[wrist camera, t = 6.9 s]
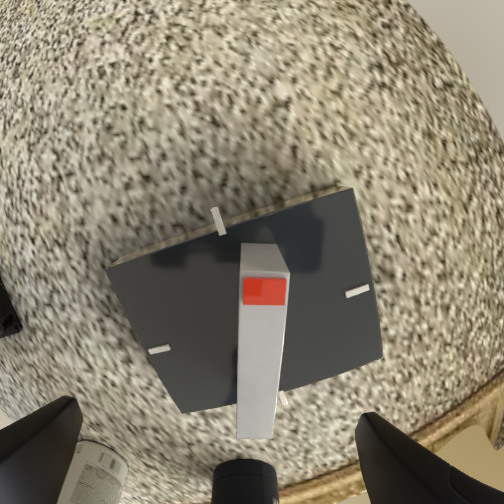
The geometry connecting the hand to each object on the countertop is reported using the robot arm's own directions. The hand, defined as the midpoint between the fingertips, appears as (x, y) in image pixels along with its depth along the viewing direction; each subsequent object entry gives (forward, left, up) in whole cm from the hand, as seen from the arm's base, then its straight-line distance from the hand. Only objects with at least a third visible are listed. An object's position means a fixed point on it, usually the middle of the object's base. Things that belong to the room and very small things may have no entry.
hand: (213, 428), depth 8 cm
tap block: (+1, -1, -12) cm, 12 cm away
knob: (+1, -1, -8) cm, 9 cm away
